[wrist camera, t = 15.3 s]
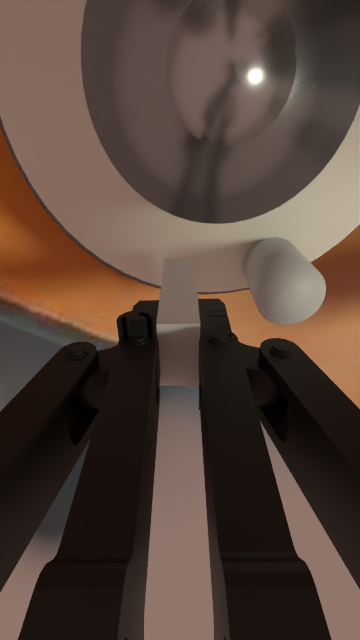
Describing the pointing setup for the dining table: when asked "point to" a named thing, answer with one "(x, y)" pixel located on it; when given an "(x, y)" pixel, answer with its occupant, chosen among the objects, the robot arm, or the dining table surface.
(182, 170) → the cover
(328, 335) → the dining table surface
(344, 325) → the dining table surface
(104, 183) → the turntable
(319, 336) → the dining table surface
